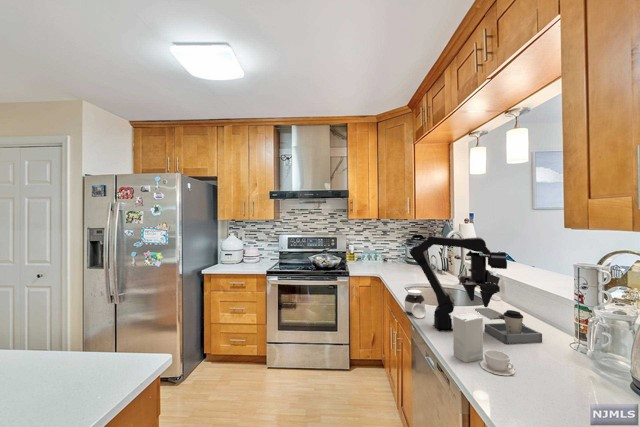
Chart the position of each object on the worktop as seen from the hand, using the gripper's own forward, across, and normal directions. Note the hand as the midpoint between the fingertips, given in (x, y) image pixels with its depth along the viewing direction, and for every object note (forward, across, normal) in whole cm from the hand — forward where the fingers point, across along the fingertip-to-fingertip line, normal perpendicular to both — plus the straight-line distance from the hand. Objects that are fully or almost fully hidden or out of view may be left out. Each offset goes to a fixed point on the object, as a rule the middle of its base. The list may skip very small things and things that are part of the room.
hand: (478, 303), depth 126 cm
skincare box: (+13, -19, +17) cm, 29 cm away
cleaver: (+14, +18, -22) cm, 32 cm away
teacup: (+14, -27, +12) cm, 32 cm away
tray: (+13, -4, -12) cm, 18 cm away
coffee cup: (+13, -5, -12) cm, 18 cm away
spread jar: (+13, +27, +16) cm, 34 cm away
